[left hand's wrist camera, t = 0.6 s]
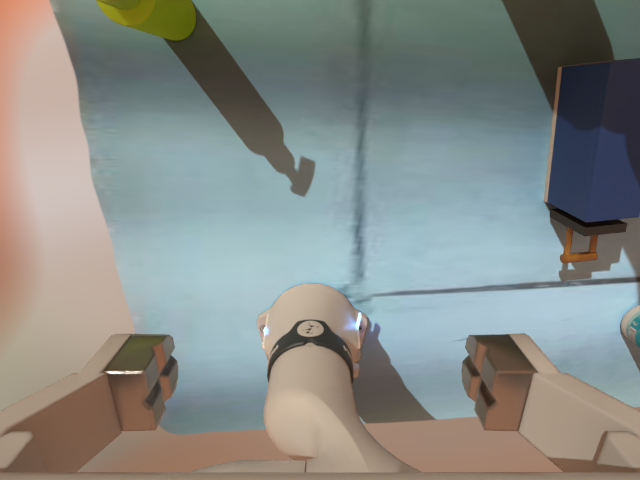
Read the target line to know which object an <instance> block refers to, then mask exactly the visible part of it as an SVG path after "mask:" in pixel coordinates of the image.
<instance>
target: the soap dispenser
mask: <svg viewBox="0 0 640 480" xmlns="http://www.w3.org/2000/svg"><path fill="white" fill-rule="evenodd" d="M96 1H97V3H98V5H99V7H100V8H101V10H102V11H103V12H104V13H105V14H106V15H107V16H108V17H109V18H110V19H111V20H113V21H114V22H116V23H118V24H121V25H124V26H128V27H131V28H134V29H137V30H140V31H144V32H147V33H150V34H153V35H156V36H160V37H163V38H166V39H169V40H174V41H178V40H183V39H185V38H187V37H188V36H189V35H190V34H191V33H192V31H193V30H194V27H195V24H196V11H195V8H194V5H193V3H192V1H191V0H96Z"/></svg>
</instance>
